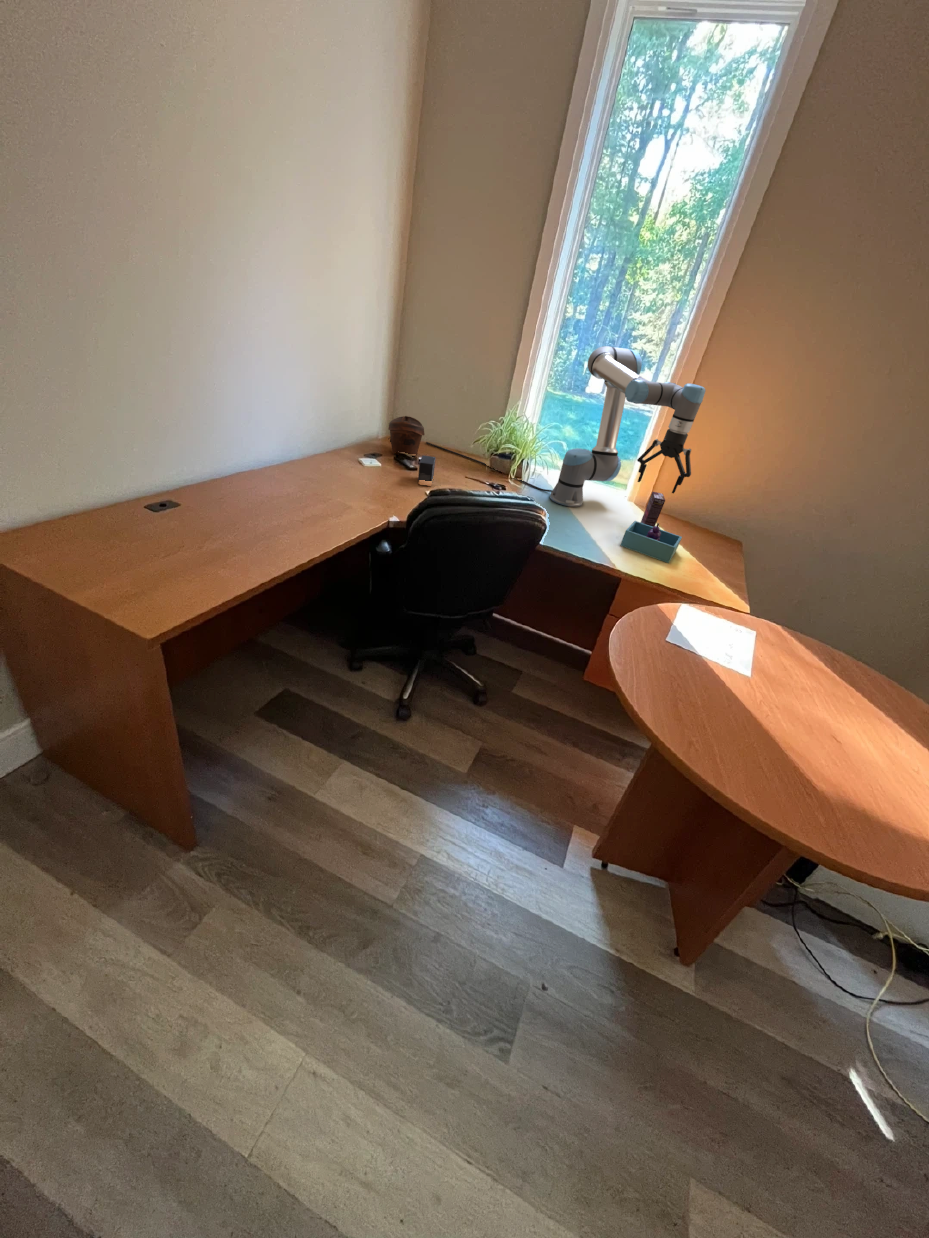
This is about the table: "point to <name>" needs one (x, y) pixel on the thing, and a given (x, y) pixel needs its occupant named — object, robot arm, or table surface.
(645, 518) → the supplement box
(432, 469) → the small box
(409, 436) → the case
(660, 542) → the bin
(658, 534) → the grapes
